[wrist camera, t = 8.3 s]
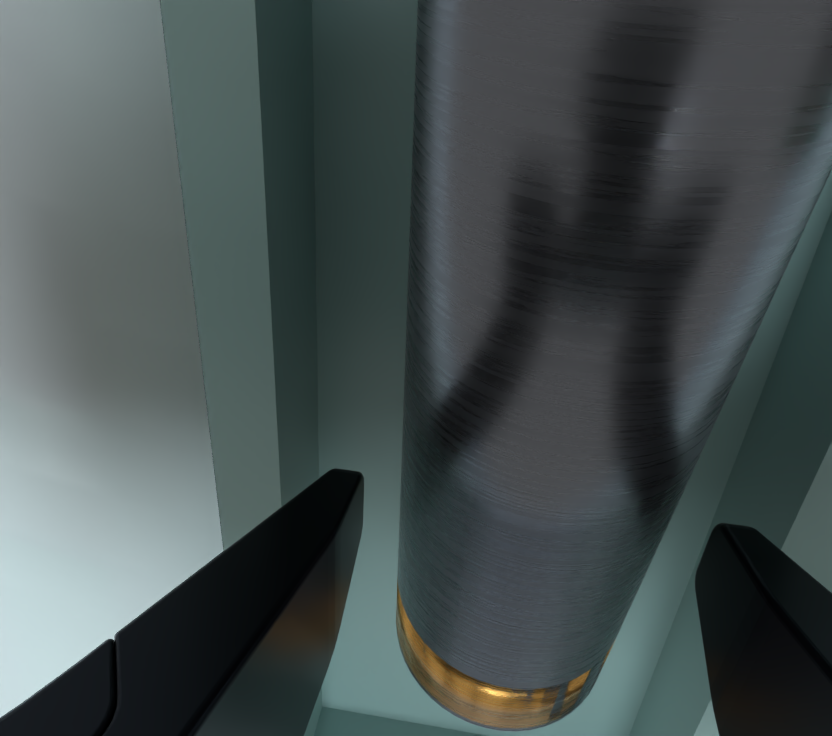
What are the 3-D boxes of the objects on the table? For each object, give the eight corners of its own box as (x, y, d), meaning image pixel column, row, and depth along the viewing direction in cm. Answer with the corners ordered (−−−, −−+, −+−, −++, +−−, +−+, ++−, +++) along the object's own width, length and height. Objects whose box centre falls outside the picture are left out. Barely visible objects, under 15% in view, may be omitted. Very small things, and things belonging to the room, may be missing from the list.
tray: (650, 769, 15) (672, 893, 13) (289, 705, 16) (253, 812, 14) (1206, -520, 5) (1667, -890, 3) (222, -511, 6) (66, -805, 4)
